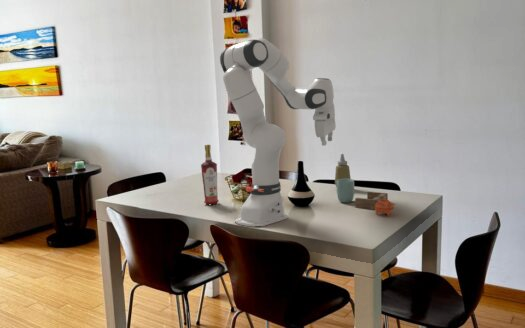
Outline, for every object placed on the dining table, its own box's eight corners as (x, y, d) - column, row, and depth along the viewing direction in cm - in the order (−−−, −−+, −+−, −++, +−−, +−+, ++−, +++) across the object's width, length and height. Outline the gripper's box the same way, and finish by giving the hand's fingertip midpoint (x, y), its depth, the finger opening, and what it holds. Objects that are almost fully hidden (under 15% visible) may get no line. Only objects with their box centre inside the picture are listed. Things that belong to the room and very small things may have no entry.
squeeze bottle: (331, 189, 249) (330, 154, 246) (342, 187, 254) (341, 152, 251) (344, 192, 242) (343, 155, 239) (354, 189, 248) (353, 153, 245)
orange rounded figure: (375, 217, 196) (374, 200, 197) (374, 216, 204) (373, 199, 204) (396, 216, 195) (395, 199, 196) (394, 215, 203) (392, 199, 203)
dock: (375, 209, 208) (375, 200, 207) (355, 207, 213) (355, 198, 213) (387, 202, 219) (387, 193, 219) (368, 200, 225) (368, 191, 224)
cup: (354, 204, 219) (353, 182, 217) (336, 204, 221) (336, 182, 219) (354, 199, 226) (354, 178, 225) (337, 199, 228) (336, 178, 226)
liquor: (218, 201, 236) (214, 143, 231) (220, 205, 229) (216, 145, 224) (202, 203, 234) (198, 144, 230) (204, 206, 227) (200, 146, 223)
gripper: (325, 110, 236) (327, 138, 240) (311, 117, 218) (314, 147, 222) (337, 109, 234) (339, 138, 237) (325, 116, 216) (327, 147, 219)
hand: (327, 143), depth 229 cm, fingers open, 8 cm apart
